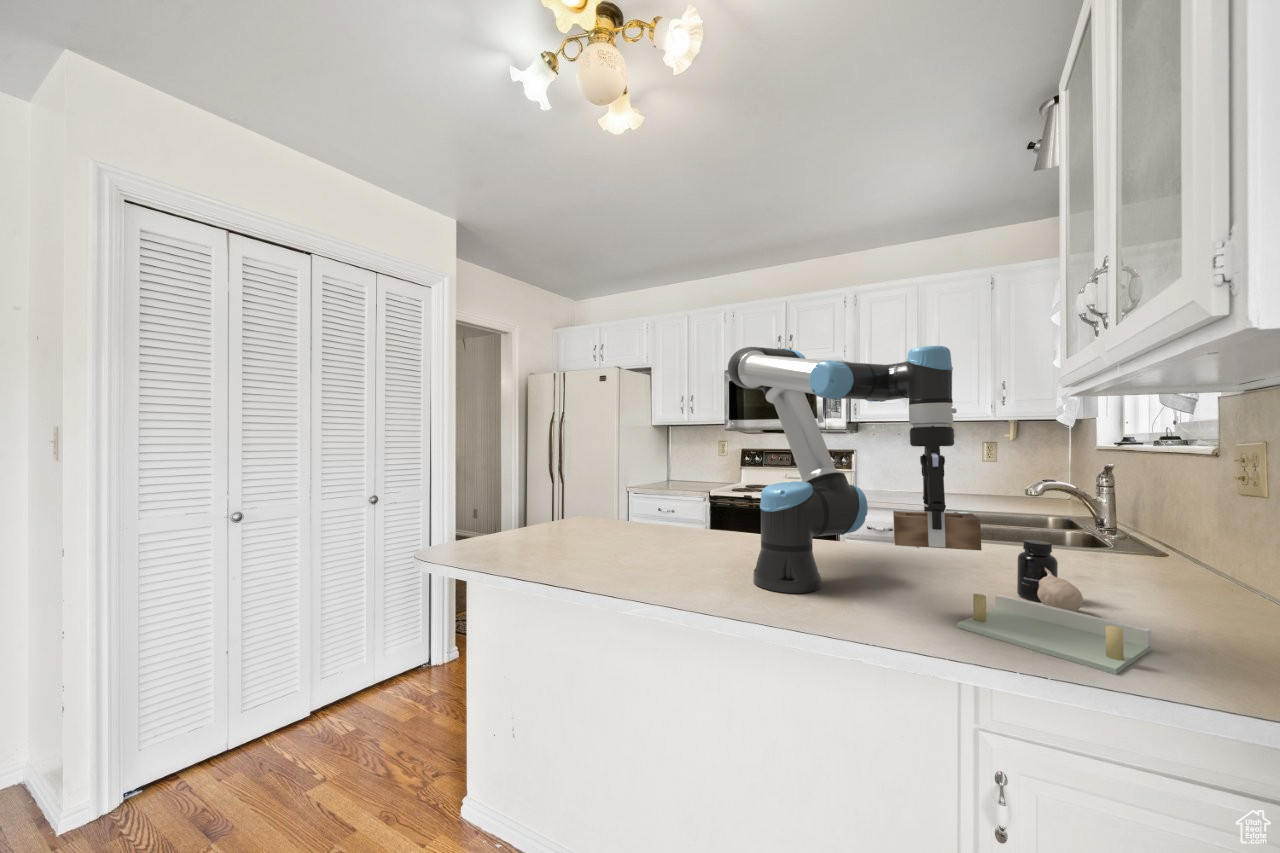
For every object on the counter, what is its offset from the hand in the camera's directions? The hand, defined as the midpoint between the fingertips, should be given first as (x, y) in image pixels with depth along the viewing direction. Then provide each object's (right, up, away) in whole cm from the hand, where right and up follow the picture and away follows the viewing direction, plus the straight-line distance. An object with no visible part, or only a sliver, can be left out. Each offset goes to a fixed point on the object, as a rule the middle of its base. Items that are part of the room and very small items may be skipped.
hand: (934, 542), depth 101 cm
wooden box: (0, 0, 0) cm, 0 cm away
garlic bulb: (+26, -14, +2) cm, 30 cm away
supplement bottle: (+28, -14, +10) cm, 33 cm away
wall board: (+13, -14, -12) cm, 22 cm away
